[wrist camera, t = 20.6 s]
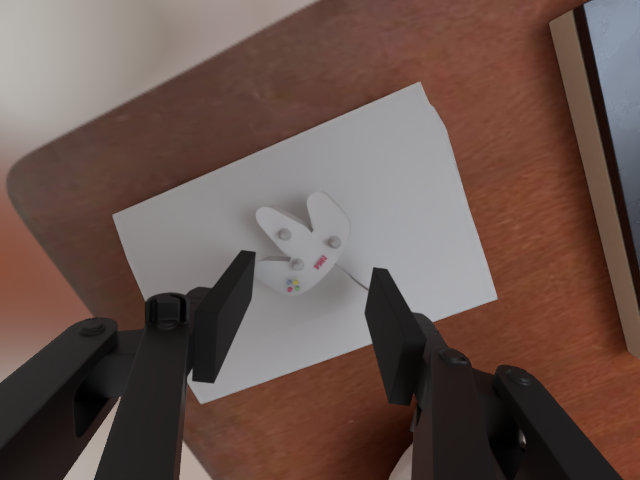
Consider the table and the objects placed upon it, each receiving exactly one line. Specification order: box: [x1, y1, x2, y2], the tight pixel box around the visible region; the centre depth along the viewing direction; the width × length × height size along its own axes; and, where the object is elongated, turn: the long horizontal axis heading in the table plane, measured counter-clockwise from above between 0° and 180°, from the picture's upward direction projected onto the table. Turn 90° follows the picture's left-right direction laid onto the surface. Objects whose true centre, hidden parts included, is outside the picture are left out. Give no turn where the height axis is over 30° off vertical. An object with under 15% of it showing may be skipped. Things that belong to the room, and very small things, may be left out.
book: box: [112, 82, 498, 404], centre depth 21 cm, size 15×23×4 cm, turn 112°
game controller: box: [254, 192, 369, 296], centre depth 17 cm, size 6×12×3 cm, turn 70°
